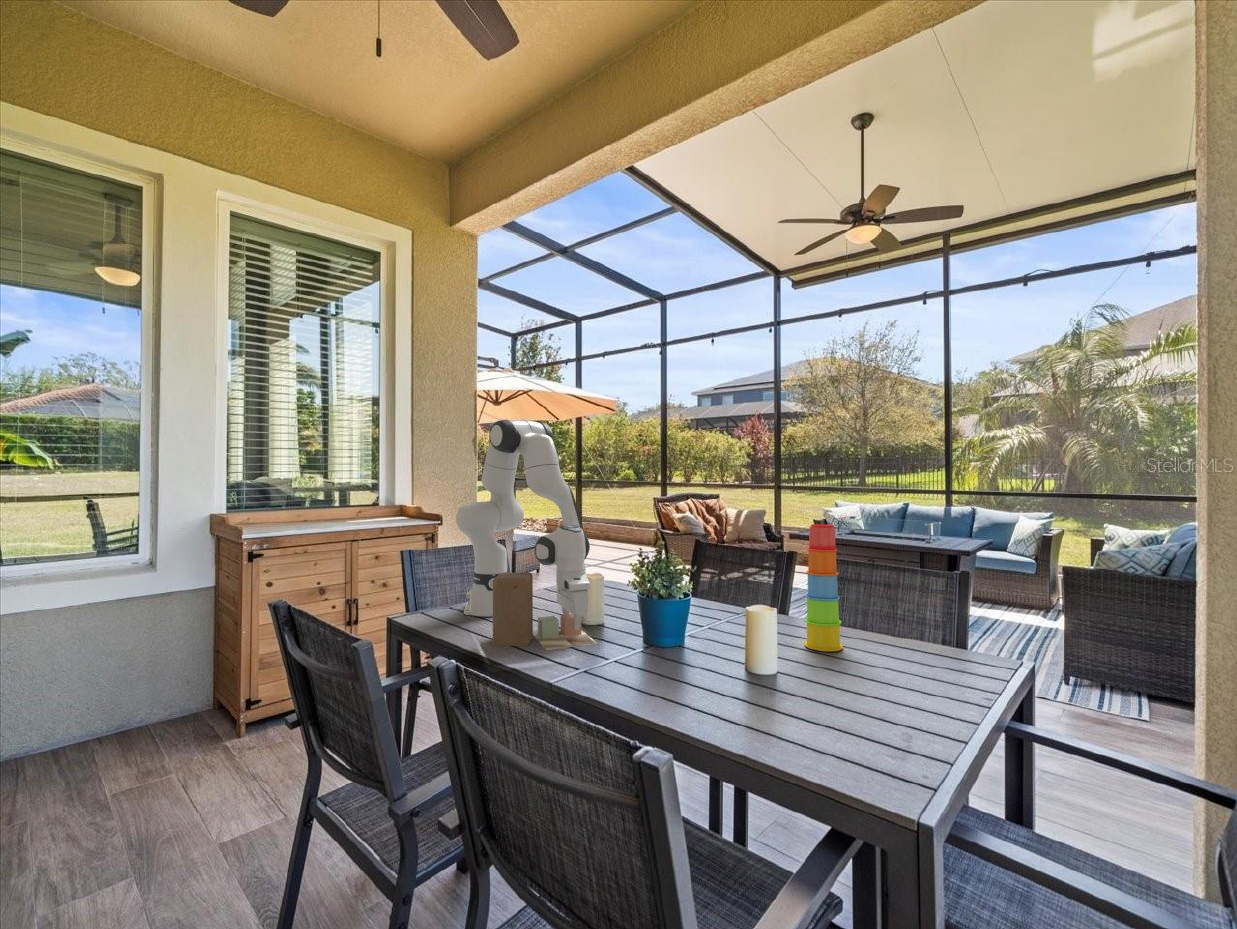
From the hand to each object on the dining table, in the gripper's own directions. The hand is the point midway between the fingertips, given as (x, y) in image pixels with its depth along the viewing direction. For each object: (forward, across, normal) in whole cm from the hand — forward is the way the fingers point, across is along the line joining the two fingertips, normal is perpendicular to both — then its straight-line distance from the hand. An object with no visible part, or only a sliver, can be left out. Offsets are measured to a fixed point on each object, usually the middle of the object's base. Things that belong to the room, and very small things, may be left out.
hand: (571, 625), depth 175 cm
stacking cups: (+4, +37, +63) cm, 73 cm away
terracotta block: (+2, 0, 0) cm, 2 cm away
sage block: (+2, 0, -7) cm, 8 cm away
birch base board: (+4, +4, -4) cm, 7 cm away
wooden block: (+4, 0, -18) cm, 18 cm away
